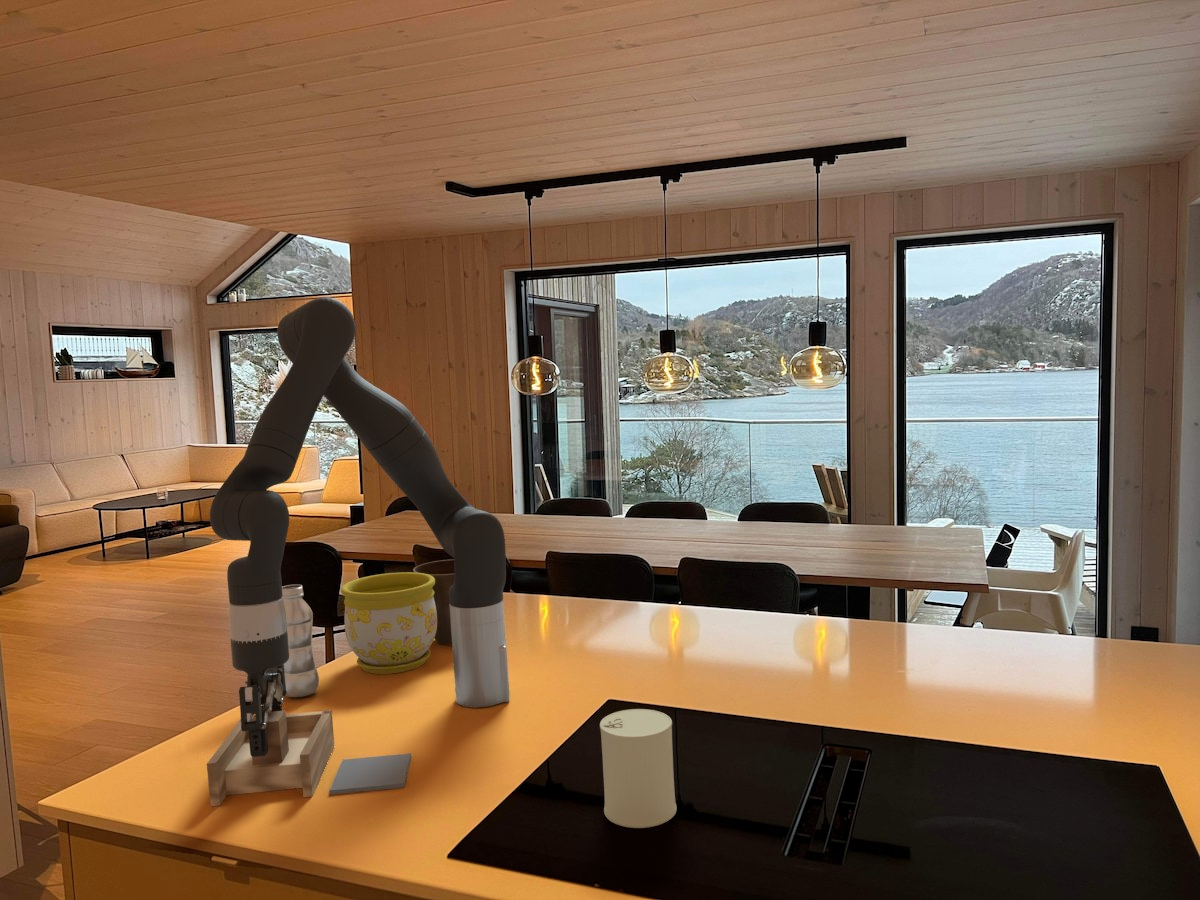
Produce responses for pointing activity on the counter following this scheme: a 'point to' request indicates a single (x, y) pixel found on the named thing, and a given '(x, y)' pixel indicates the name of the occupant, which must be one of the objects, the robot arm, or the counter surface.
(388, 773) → the mat
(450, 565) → the plant pot
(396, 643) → the flowerpot
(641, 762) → the can
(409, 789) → the counter surface
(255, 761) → the block
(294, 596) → the plastic bottle
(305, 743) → the crate
